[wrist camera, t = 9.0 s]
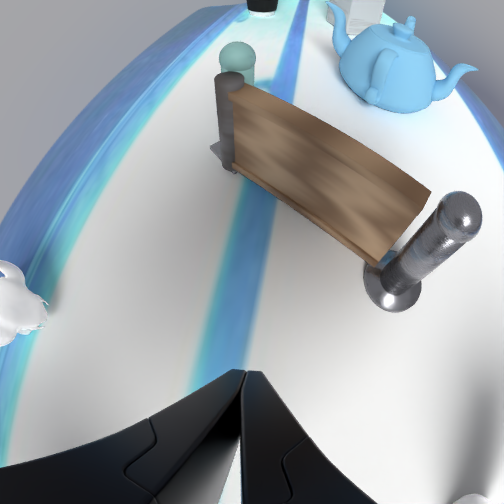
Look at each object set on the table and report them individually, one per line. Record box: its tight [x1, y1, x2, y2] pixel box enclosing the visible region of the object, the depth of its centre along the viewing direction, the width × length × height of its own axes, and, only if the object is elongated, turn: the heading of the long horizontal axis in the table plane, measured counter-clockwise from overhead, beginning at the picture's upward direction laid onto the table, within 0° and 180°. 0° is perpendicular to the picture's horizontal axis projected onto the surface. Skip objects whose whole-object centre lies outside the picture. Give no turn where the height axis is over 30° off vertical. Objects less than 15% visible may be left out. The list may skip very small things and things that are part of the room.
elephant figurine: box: [0, 260, 49, 346], centre depth 18 cm, size 7×8×6 cm
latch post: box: [210, 42, 256, 174], centre depth 23 cm, size 4×4×11 cm
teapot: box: [325, 1, 478, 113], centre depth 29 cm, size 15×15×10 cm
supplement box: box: [327, 0, 385, 35], centre depth 38 cm, size 7×7×13 cm
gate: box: [214, 71, 431, 267], centre depth 20 cm, size 16×2×9 cm, turn 50°
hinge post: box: [364, 191, 482, 312], centre depth 17 cm, size 5×5×11 cm
